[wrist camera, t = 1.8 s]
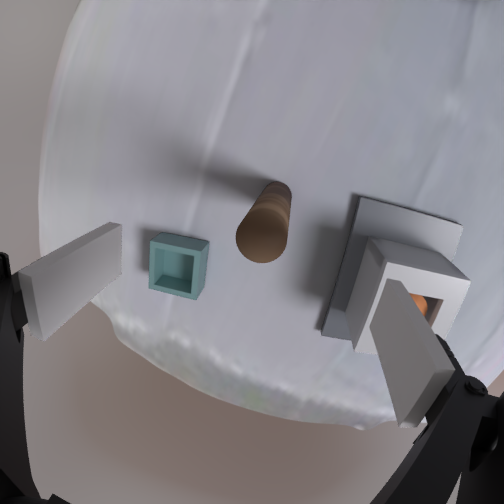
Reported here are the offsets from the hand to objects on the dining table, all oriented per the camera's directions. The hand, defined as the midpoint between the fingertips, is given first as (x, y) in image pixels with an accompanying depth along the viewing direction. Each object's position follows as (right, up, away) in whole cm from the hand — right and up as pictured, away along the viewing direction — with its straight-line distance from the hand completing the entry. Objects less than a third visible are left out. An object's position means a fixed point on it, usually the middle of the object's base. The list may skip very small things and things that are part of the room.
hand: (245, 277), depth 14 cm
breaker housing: (+18, -2, +21) cm, 28 cm away
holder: (-8, 0, +24) cm, 26 cm away
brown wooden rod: (+3, +7, +20) cm, 22 cm away
